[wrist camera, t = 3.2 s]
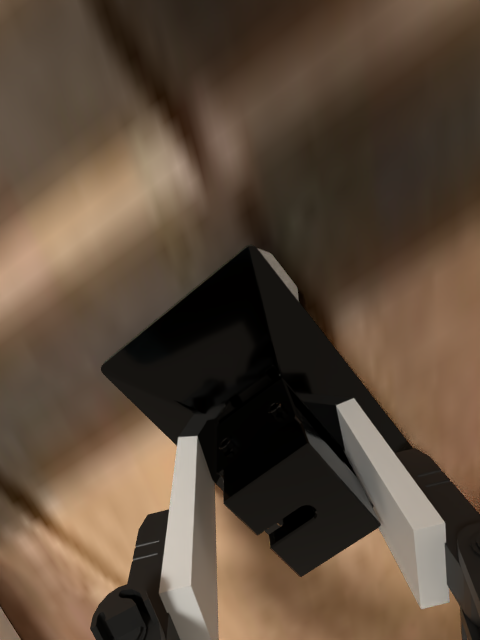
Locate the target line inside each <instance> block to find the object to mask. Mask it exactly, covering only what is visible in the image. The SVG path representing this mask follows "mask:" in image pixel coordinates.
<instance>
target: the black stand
mask: <svg viewBox="0 0 480 640" xmlns="http://www.w3.org/2000/svg"><path fill="white" fill-rule="evenodd" d="M101 371H102V373H103V374H104V375H105V376H106V377H107V378H108V379H109V380H110V381H111V382H112V383H113V384H114V385H115V386H116V387H117V388H118V389H119V390H120V391H121V392H122V393H123V394H124V395H125V396H126V397H127V398H128V399H130V400H131V401H132V402H133V403H134V404H135V405H136V406H137V407H138V408H139V409H140V410H141V411H142V412H143V413H144V414H145V415H146V416H147V417H148V418H149V419H150V420H151V421H152V422H153V423H154V424H155V425H156V426H157V427H158V428H159V429H160V430H161V431H162V432H163V433H164V434H165V435H166V436H168V437H169V438H170V439H171V440H172V441H173V442H174V443H175V444H176V445H177V443H178V437H189V436H198V439H199V442H200V445H201V448H202V451H203V454H204V457H205V460H206V463H207V466H208V469H209V472H210V475H211V478H212V480H213V481H214V482H215V483H216V484H217V485H218V486H219V487H220V488H221V489H222V490H223V493H224V504H225V505H226V506H227V507H228V508H229V509H230V510H231V511H232V512H233V513H234V514H235V515H236V516H237V517H238V518H239V519H240V520H241V521H242V522H243V523H244V524H245V525H246V526H247V527H249V528H250V529H251V530H252V531H253V532H254V533H255V534H256V535H260V534H261V533H263V532H264V531H265V532H266V533H267V534H268V535H269V544H270V549H271V550H272V551H273V552H275V553H276V554H277V555H278V556H279V557H280V558H281V559H282V560H283V561H284V562H285V563H286V564H287V565H288V566H289V567H290V568H291V569H292V570H293V571H294V572H295V573H296V574H297V575H298V576H300V577H302V576H304V575H305V574H307V573H308V572H310V571H311V570H313V569H314V568H316V567H318V566H319V565H321V564H322V563H324V562H325V561H327V560H329V559H330V558H332V557H333V556H335V555H336V554H338V553H339V552H341V551H343V550H344V549H346V548H347V547H349V546H350V545H352V544H354V543H355V542H357V541H358V540H360V539H361V538H363V537H364V536H366V535H368V534H369V533H371V532H372V531H374V530H375V529H377V528H378V527H380V526H381V523H380V521H379V519H378V517H377V515H376V513H375V511H374V509H373V507H374V505H373V503H372V501H371V499H370V497H369V495H368V494H367V492H366V490H365V488H364V486H363V484H362V482H361V480H360V478H359V476H358V474H357V472H356V471H355V469H354V467H353V465H352V463H351V461H350V459H349V457H348V455H347V454H346V452H345V447H344V442H343V438H342V433H341V428H340V423H339V418H338V413H337V408H336V405H338V404H341V403H343V402H345V401H348V400H350V399H353V398H354V399H355V400H356V402H357V403H358V404H359V406H360V407H361V409H362V410H363V411H364V413H365V414H366V415H367V417H368V418H369V419H370V421H371V422H372V424H373V425H374V426H375V428H376V429H377V430H378V432H379V433H380V434H381V436H382V437H383V439H384V440H385V441H386V443H387V444H388V445H389V447H390V448H391V449H392V451H393V452H394V453H397V452H401V451H405V450H410V449H413V448H412V447H411V445H410V444H409V443H408V441H407V440H406V439H405V438H404V436H403V435H402V434H401V432H400V431H399V430H398V429H397V427H396V426H395V425H394V423H393V422H392V421H391V420H390V418H389V417H388V416H387V414H386V413H385V412H384V411H383V409H382V408H381V407H380V405H379V404H378V403H377V402H376V400H375V399H374V398H373V396H372V395H371V394H370V393H369V391H368V390H367V389H366V387H365V386H364V385H363V384H362V382H361V381H360V380H359V378H358V377H357V376H356V375H355V373H354V372H353V371H352V370H351V368H350V367H349V366H348V364H347V363H346V362H345V361H344V359H343V358H342V357H341V355H340V354H339V353H338V352H337V350H336V349H335V348H334V346H333V345H332V344H331V343H330V341H329V340H328V339H327V337H326V336H325V335H324V334H323V332H322V331H321V330H320V328H319V327H318V326H317V325H316V323H315V322H314V321H313V319H312V318H311V317H310V316H309V314H308V313H307V312H306V310H305V309H304V308H303V307H302V305H301V304H300V303H299V299H298V288H297V286H296V285H295V284H294V282H293V281H292V280H291V279H290V277H289V276H288V275H287V273H286V272H285V271H284V269H283V268H282V267H281V266H280V264H279V263H278V262H277V260H276V259H275V258H274V256H273V255H272V254H271V253H269V252H266V251H264V250H261V249H258V248H256V247H255V246H254V245H248V246H246V247H244V248H243V249H242V250H241V251H240V252H238V253H237V254H236V255H235V256H233V257H232V258H231V259H230V260H229V261H227V262H226V263H225V264H224V265H222V266H221V267H220V268H219V269H218V270H216V271H215V272H214V273H213V274H211V275H210V276H209V277H208V278H207V279H205V280H204V281H203V282H202V283H200V284H199V285H198V286H197V287H196V288H194V289H193V290H192V291H191V292H189V293H188V294H187V295H186V296H185V297H183V298H182V299H181V300H180V301H178V302H177V303H176V304H175V305H174V306H172V307H171V308H170V309H169V310H167V311H166V312H165V313H164V314H163V315H161V316H160V317H159V318H158V319H156V320H155V321H154V322H153V323H152V324H150V325H149V326H148V327H147V328H145V329H144V330H143V331H142V332H141V333H139V334H138V335H137V336H136V337H134V338H133V339H132V340H131V341H130V342H128V343H127V344H126V345H125V346H123V347H122V348H121V349H120V350H119V351H117V352H116V353H115V354H114V355H112V356H111V357H110V358H109V359H108V360H106V361H105V362H104V364H103V365H102V367H101Z"/></svg>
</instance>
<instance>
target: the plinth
mask: <svg viewBox="0 0 480 640" xmlns="http://www.w3.org/2000/svg"><path fill="white" fill-rule="evenodd" d="M0 640H21V639H20V637H19V636H18V634H17V633H16V631H15V629H14V628H13V626H12V625H11V623H10V622H9V620H8V618H7V617H6V615H5V614H4V612H3V611H2V609H1V607H0Z"/></svg>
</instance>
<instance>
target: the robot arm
mask: <svg viewBox="0 0 480 640" xmlns="http://www.w3.org/2000/svg"><path fill="white" fill-rule="evenodd" d="M336 408H337V413H338V418H339V423H340V428H341V433H342V438H343V442H344V447H345V452H346V454H347V455H348V457H349V459H350V461H351V463H352V465H353V467H354V469H355V471H356V472H357V474H358V476H359V478H360V480H361V482H362V484H363V486H364V488H365V490H366V492H367V494H368V495H369V497H370V499H371V501H372V503H373V505H374V507H373V509H374V511H375V513H376V515H377V517H378V519H379V521H380V523H381V526H380V527H378V528H379V530H380V532H381V533H382V535H383V537H384V539H385V541H386V543H387V545H388V547H389V549H390V551H391V553H392V555H393V557H394V559H395V560H396V562H397V564H398V566H399V568H400V570H401V572H402V574H403V576H404V578H405V580H406V582H407V584H408V586H409V587H410V589H411V591H412V593H413V595H414V597H415V599H416V601H417V603H418V605H419V607H420V609H425V608H429V607H433V606H437V605H441V604H445V603H449V602H450V600H449V589H450V590H451V592H452V593H453V595H454V597H455V598H456V600H457V601H458V603H459V605H460V617H461V634H462V640H467V638H468V640H480V514H479V513H478V512H477V511H476V510H475V508H474V507H473V506H472V505H471V504H470V503H469V501H468V500H467V499H466V498H465V497H464V496H463V495H462V493H461V492H460V491H459V490H458V489H457V488H456V486H455V485H454V484H453V483H452V482H450V479H449V478H448V477H447V476H446V475H445V474H444V472H442V471H441V469H440V468H439V467H438V465H437V464H436V463H435V462H434V461H433V460H432V459H431V457H429V456H428V455H426V454H424V453H423V452H421V451H419V450H417V449H416V448H414V449H410V450H405V451H401V452H397V453H394V452H393V451H392V449H391V448H390V447H389V445H388V444H387V443H386V441H385V440H384V439H383V437H382V436H381V434H380V433H379V432H378V430H377V429H376V428H375V426H374V425H373V424H372V422H371V421H370V419H369V418H368V417H367V415H366V414H365V413H364V411H363V410H362V409H361V407H360V406H359V404H358V403H357V402H356V400H355V399H354V398H353V399H350V400H348V401H345V402H343V403H341V404H338V405H336ZM90 629H91V631H92V633H93V635H94V637H95V638H96V640H219V639H218V599H217V559H216V518H215V482H214V481H213V480H212V478H211V475H210V472H209V469H208V466H207V463H206V460H205V457H204V454H203V451H202V448H201V445H200V442H199V439H198V436H189V437H178V443H177V451H176V459H175V467H174V475H173V483H172V491H171V499H170V507H169V510H165V511H161V512H157V513H153V514H149V515H147V517H146V518H145V520H144V522H143V523H142V525H141V527H140V528H139V531H138V536H137V541H136V548H135V550H134V555H133V562H132V565H131V569H130V574H129V579H128V584H127V585H124V586H121V587H118V588H117V589H115V590H114V591H112V592H111V593H109V594H108V595H107V596H106V597H105V599H104V600H103V601H102V602H101V603H100V604H99V606H98V608H97V609H96V611H95V613H94V615H93V618H92V622H91V627H90Z"/></svg>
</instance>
